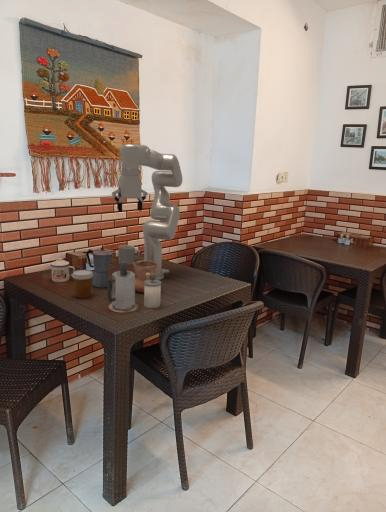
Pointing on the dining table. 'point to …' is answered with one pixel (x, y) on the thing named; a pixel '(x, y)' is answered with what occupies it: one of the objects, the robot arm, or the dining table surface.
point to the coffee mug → (127, 254)
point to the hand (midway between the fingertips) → (129, 210)
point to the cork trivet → (123, 311)
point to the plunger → (123, 267)
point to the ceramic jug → (143, 273)
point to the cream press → (152, 292)
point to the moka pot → (100, 266)
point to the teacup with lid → (60, 270)
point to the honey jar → (82, 283)
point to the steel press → (122, 291)
